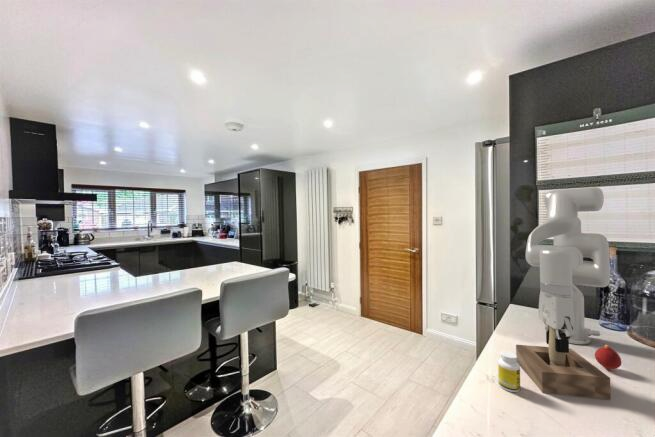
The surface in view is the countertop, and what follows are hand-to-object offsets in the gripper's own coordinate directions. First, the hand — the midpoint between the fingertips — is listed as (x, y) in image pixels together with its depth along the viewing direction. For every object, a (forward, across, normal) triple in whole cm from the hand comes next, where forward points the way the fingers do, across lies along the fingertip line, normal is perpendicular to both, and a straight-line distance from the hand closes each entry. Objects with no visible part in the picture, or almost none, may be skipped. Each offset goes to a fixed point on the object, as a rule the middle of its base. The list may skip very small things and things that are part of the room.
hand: (557, 347), depth 81 cm
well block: (+10, 0, 0) cm, 10 cm away
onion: (+10, -8, +18) cm, 22 cm away
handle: (+6, 0, 0) cm, 6 cm away
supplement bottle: (+10, +7, -16) cm, 20 cm away
